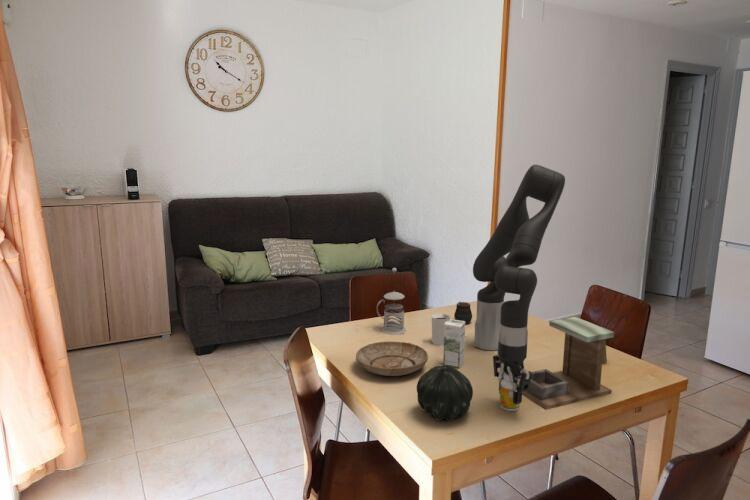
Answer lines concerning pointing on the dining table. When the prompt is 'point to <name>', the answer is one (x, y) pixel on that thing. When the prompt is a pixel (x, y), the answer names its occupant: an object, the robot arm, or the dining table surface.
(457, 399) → the squash
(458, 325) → the syrup box
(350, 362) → the dining table surface
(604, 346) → the cork
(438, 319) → the white mug
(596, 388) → the awning stand
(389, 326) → the french press
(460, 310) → the mate gourd
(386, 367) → the ceramic bowl
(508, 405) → the supplement bottle
